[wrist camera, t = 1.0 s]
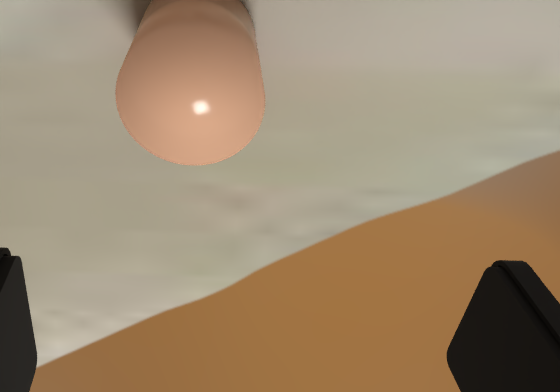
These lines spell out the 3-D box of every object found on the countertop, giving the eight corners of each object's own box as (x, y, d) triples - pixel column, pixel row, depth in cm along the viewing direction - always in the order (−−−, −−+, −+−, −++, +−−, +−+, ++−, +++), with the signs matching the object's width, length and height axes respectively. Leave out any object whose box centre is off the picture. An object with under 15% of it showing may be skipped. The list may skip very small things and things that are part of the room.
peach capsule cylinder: (250, -24, 30) (259, 22, 23) (259, 88, 34) (269, 158, 27) (129, -15, 30) (98, 35, 23) (152, 97, 34) (133, 171, 27)
